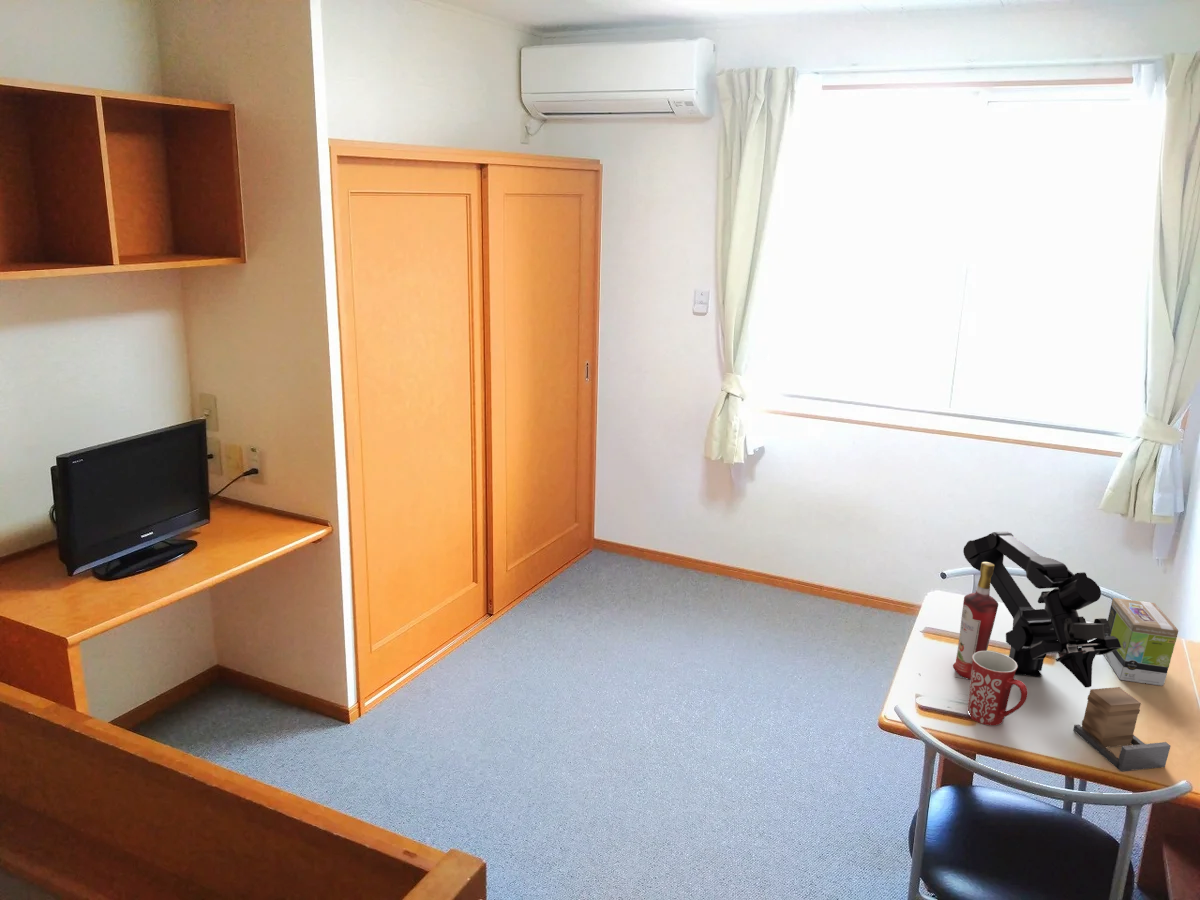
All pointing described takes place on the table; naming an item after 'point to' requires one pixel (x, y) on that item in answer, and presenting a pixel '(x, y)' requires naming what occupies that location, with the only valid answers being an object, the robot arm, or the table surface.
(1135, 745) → the bay
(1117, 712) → the chest
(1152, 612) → the tea box
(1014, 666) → the mug
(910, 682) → the table surface
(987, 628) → the liquor
